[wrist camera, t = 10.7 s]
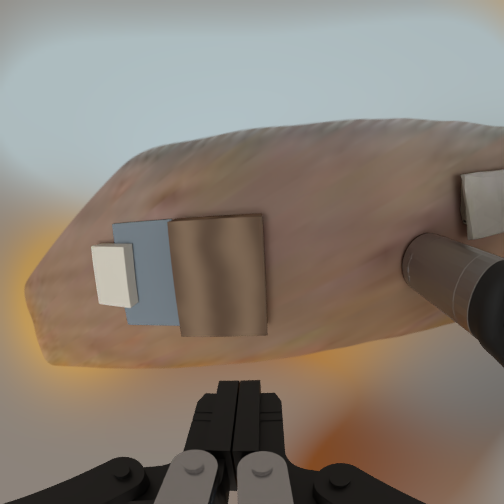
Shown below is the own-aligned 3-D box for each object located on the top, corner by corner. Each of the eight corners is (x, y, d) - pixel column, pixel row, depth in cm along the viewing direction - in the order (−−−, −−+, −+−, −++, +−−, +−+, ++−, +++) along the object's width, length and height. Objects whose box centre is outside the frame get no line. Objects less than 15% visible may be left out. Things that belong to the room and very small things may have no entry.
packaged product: (520, 221, 39) (513, 168, 38) (536, 223, 34) (529, 166, 33) (455, 238, 40) (447, 175, 39) (472, 241, 35) (464, 173, 34)
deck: (262, 213, 41) (262, 216, 37) (267, 322, 44) (267, 335, 40) (175, 218, 41) (167, 222, 37) (187, 324, 45) (181, 336, 41)
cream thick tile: (91, 246, 40) (100, 243, 42) (99, 303, 42) (107, 298, 44) (123, 247, 39) (131, 243, 41) (130, 308, 41) (138, 302, 43)
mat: (172, 219, 41) (171, 219, 41) (184, 324, 45) (183, 325, 44) (113, 223, 42) (112, 224, 41) (129, 323, 45) (128, 324, 45)
